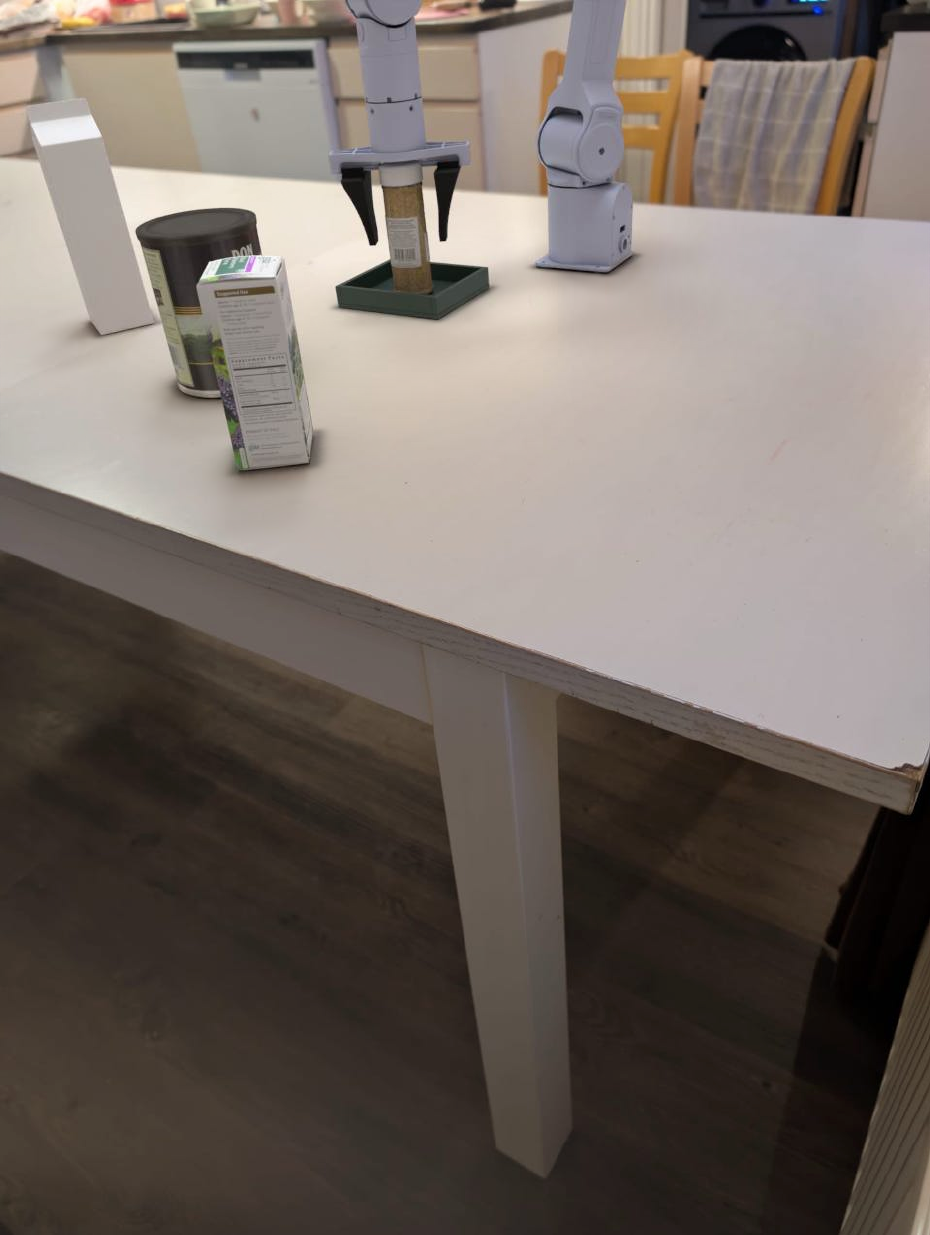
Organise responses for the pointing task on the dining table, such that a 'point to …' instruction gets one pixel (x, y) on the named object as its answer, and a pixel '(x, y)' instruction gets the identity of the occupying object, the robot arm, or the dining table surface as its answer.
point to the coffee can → (192, 281)
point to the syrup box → (257, 360)
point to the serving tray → (379, 295)
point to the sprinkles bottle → (406, 226)
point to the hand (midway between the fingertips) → (408, 241)
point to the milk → (90, 214)
